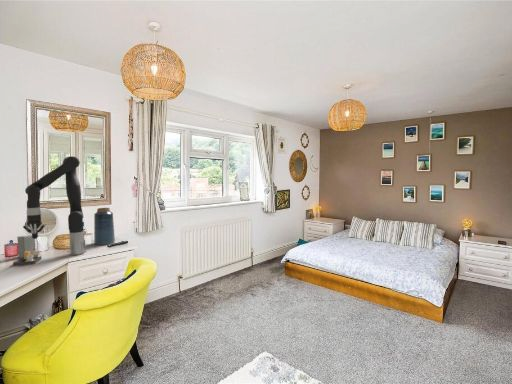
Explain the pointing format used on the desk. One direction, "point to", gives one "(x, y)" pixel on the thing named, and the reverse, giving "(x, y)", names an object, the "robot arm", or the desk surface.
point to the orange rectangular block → (26, 255)
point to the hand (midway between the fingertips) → (35, 238)
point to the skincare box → (25, 245)
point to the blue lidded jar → (103, 227)
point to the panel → (29, 259)
